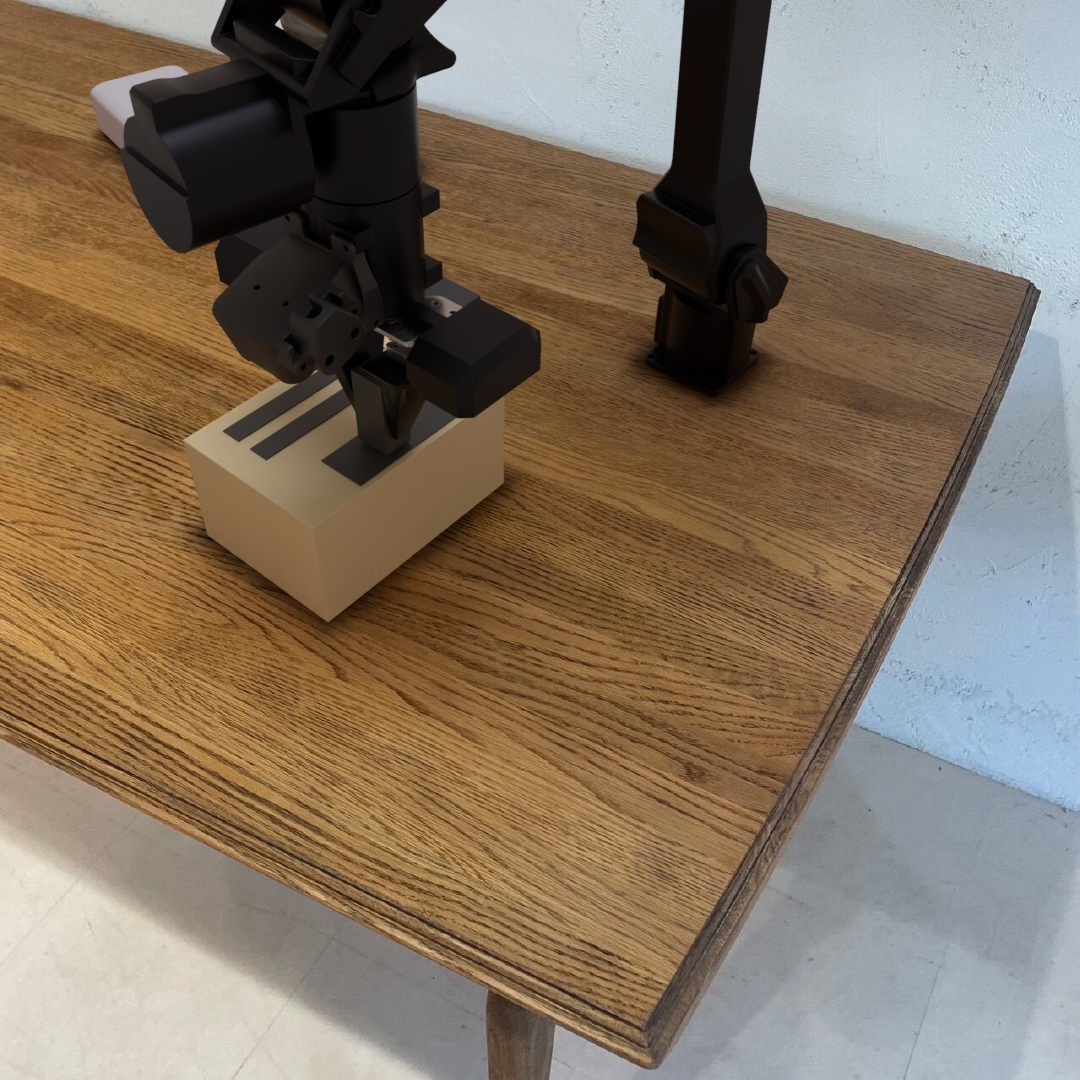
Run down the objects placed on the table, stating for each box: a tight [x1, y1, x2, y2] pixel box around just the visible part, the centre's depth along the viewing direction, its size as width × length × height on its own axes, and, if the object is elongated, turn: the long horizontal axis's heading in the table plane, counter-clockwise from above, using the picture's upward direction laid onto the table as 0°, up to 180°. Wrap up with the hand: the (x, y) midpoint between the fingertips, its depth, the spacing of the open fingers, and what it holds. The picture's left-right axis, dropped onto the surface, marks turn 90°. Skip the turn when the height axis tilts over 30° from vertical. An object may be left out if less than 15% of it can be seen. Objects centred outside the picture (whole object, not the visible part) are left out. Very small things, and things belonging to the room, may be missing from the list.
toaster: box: [182, 336, 506, 623], centre depth 71 cm, size 11×16×8 cm
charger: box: [90, 65, 189, 149], centre depth 104 cm, size 5×9×15 cm
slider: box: [351, 354, 411, 456], centre depth 65 cm, size 2×2×5 cm
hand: (383, 425), depth 66 cm, fingers closed on slider, 2 cm apart
